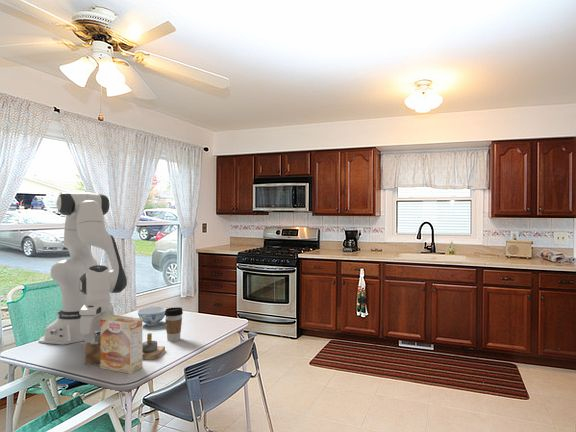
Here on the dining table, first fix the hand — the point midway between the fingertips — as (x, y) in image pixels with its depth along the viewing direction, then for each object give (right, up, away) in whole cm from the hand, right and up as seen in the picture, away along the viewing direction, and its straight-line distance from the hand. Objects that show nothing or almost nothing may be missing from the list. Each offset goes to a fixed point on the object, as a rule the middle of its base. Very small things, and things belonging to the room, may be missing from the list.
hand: (98, 339), depth 156 cm
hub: (+18, -9, +8) cm, 22 cm away
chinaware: (+3, -9, +53) cm, 54 cm away
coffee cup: (+23, -9, +27) cm, 37 cm away
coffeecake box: (+12, -9, -6) cm, 17 cm away
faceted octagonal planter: (0, -1, 0) cm, 1 cm away
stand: (0, -9, 0) cm, 9 cm away
